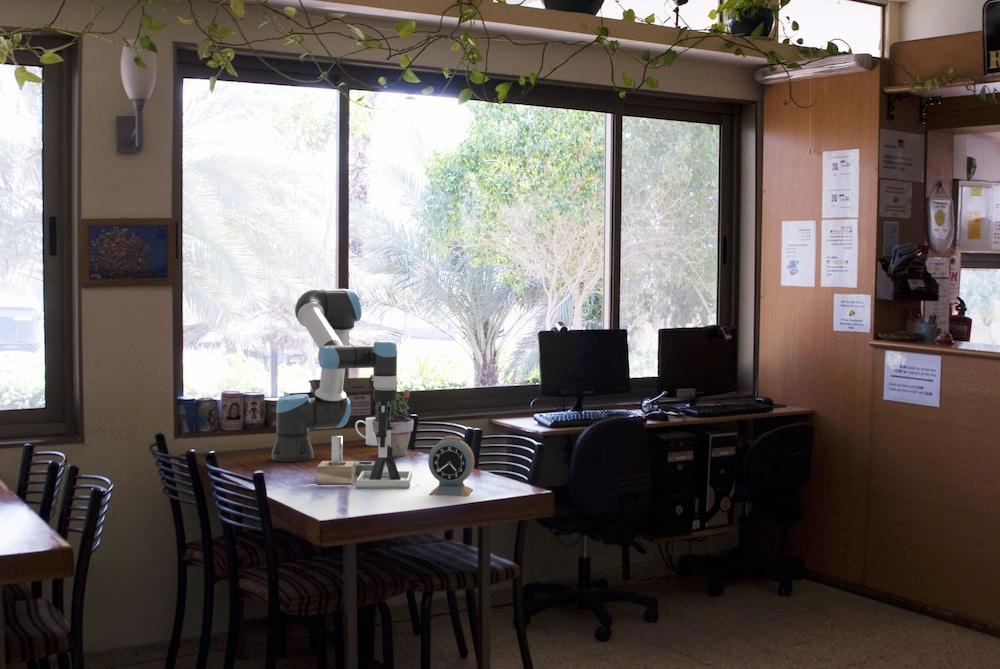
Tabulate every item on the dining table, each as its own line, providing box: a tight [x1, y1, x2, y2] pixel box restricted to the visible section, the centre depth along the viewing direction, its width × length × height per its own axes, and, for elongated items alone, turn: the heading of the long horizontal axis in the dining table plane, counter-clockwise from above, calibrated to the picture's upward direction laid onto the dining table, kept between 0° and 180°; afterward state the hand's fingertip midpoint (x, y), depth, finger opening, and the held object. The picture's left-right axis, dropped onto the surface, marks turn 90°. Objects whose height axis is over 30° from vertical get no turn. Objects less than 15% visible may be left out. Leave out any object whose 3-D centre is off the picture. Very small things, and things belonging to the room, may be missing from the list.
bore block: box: [316, 460, 356, 486], centre depth 360 cm, size 11×11×6 cm
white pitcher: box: [354, 416, 378, 447], centre depth 440 cm, size 12×8×10 cm, turn 110°
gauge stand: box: [354, 460, 376, 476], centre depth 373 cm, size 8×8×4 cm
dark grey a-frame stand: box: [368, 445, 402, 480], centre depth 358 cm, size 9×6×12 cm, turn 114°
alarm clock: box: [427, 435, 475, 497], centre depth 344 cm, size 14×10×18 cm
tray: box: [356, 470, 413, 489], centre depth 359 cm, size 17×17×2 cm
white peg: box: [331, 435, 344, 465], centre depth 360 cm, size 4×4×15 cm
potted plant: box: [370, 389, 418, 458], centre depth 415 cm, size 18×20×25 cm
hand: (384, 453), depth 359 cm, fingers open, 13 cm apart
